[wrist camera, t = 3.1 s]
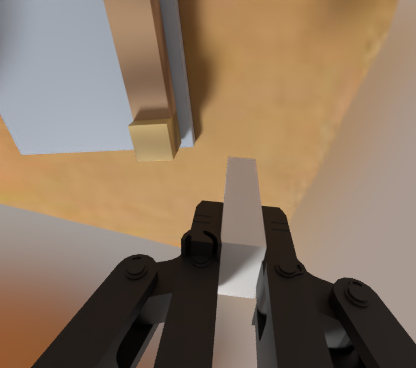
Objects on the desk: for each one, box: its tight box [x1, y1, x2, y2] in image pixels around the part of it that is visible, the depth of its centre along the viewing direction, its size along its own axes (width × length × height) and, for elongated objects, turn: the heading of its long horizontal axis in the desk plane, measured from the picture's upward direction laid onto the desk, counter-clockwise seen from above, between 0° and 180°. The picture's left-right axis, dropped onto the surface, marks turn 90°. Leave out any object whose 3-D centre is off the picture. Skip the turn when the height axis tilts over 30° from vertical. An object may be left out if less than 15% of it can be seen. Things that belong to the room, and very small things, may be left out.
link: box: [103, 0, 182, 162], centre depth 17 cm, size 18×5×4 cm, turn 5°
